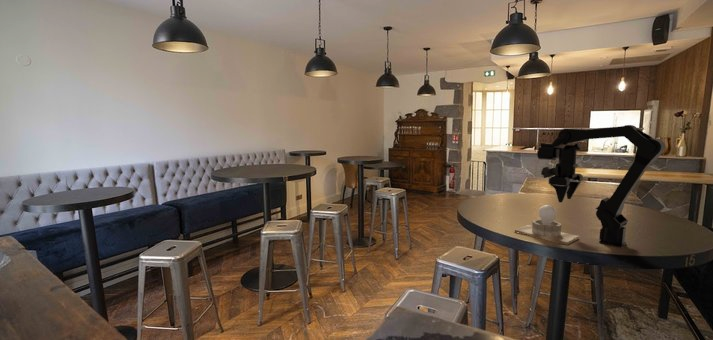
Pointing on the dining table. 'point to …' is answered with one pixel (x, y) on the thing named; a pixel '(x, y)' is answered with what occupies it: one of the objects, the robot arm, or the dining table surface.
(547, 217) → the lightbulb
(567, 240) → the lamp base
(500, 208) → the dining table surface
